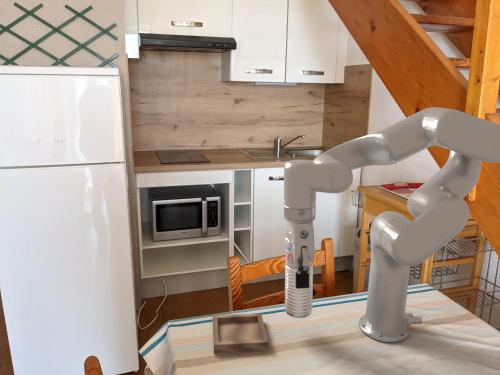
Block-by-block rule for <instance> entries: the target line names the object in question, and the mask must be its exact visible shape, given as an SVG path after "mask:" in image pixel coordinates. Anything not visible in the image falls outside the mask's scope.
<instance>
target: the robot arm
mask: <svg viewBox="0 0 500 375" xmlns="http://www.w3.org/2000/svg"><path fill="white" fill-rule="evenodd" d="M433 146H436V147H440V148H442V149H445V150H449V155H448V159H447V161H446V163H445V164H444V165H443V166H442V167H441V168H440V169H439V170H438V171H437V172H436V173H435V174H433V176H431V177H430V178H429V179H428V180H426V181H425V182H424V183H423V184H422V185H420V186H419V187H418V188H417V189H415V190H414V191H413V192H412V193H411V194H410V195H409V196H408V199H407V201H406V208H407V210H408V212H409V214H410V215H411V216H412V217H413V218H414V220H411V219H409V217H407V216H405V215H404V214H402V213H400V212H397V211H391V210H389V211H383V212H381V213H379V214H378V215H377V216H376V217H375V218H374V220H372V222H371V226H370V231H369V239H370V264H369V265H370V266H369V277H368V286H367V296H366V297H367V298H366V307H365V308H366V310H365V311H366V312H365V314H363V315H362V316H361V317H360V318H359V322H358V327H359V328H360V331H361V332H362V333H363V334H364V335H366V336H368V337H369V338H371V339H373V340H374V341H375V340H376V341H379V342H385V343H398V342H403V341H405V340H406V339H407V338H408V337H409V335H410V326H411V325H422V324H423V318H422V316H419V315H418V316H414V315H413V312H406V307H407V306H406V305H407V298H408V291H409V290H408V289H409V279H410V272H411V267H413V266H417V265H420V264H423V263H424V262H426V260H428V259H429V258H431V257H432V256H434V254H436V253H437V252H438V251H439V250H441V249H442V248H443V247H445V246H446V245H447V244H448V243H449V242H451V241H452V240H453V239H454V238H456V237H457V235H459V234H460V233H461V232H462V231H463V230H464V228H465V226H466V225H467V223H468V221H469V217H470V208H469V205H468V204H467V202H466V201H465V200H464V198H465V197H466V196H467V195H468V194H470V192H472V191H473V189H474V188H475V187H476V186H477V184H478V183H479V180H480V177H481V171H482V162H485V163H490V164H499V163H500V123H497V122H495V121H490V120H488V119H487V120H486V119H485V118H482V117H478V116H476V115H475V116H474V115H472V114H469V113H466V112H464V111H460V110H457V109H452V108H445V107H439V106H438V107H437V106H436V107H435V106H433V107H426V108H424V109H422V110H420V111H417V112H416V113H414V114H411V115H409V116H407V117H405V118H403V119H401V120H399V121H397V122H395V123H393V124H391V125H389V126H387V127H385V128H383V129H381V130H378V131H376V132H373V133H369V134H366V135H363V136H360V137H358V138H353V139H351V140H348V141H345V142H343V143H341V144H338V145H336V146H334V147H332V148H330V149H327V150H326V151H324V152H322V153H320V154H319V155H317V156H316V157H315V158H314V159H313V160H309V159H291V160H288V161H286V162H285V164H284V167H283V219H284V220H285V221H287V228H286V229H287V231H288V229H289V231H290V234H291V238H292V255H293V260H294V261H295V262H296V266H297V273H296V288H297V289H302V288H309V260H310V261H312V262H314V261H315V252H316V251H315V231H314V222H313V221H315V220H316V217H317V215H316V210H317V209H316V207H317V205H316V204H317V193H325V194H341V193H344V192H346V191H347V190H349V188H350V187H351V186H352V184H353V182H354V173H353V171H354V170H356V169H360V168H363V167H370V166H388V165H389V166H391V165H394V164H397V163H400V162H402V161H404V160H406V159H408V158H410V157H412V156H414V155H416V154H418V153H420V152H422V151H424V150H427V149H428V148H430V147H433ZM287 231H286V232H287ZM303 233H304V234H303ZM299 257H302V260H298V258H299ZM308 258H309V259H308ZM299 263H303V264H302V266H301V267H300V265H299Z"/></svg>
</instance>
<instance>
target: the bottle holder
mask: <svg viewBox="0 0 500 375" xmlns="http://www.w3.org/2000/svg"><path fill="white" fill-rule="evenodd" d="M265 327H266V326H265V323H264V318H263V314H262V313H261V312H259V313H243V314H242V313H236V314H219V315H218V314H217V315H215V314H214V315H212V337H213V338H212V339H213V342H212V343H213V354H225V353H226V354H228V353H229V354H231V353H245V352H246V353H249V352H263V351H264V352H266V351H269V342H270V341H269V339H268V335H267V331H266V328H265Z"/></svg>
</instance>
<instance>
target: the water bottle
mask: <svg viewBox="0 0 500 375" xmlns="http://www.w3.org/2000/svg"><path fill="white" fill-rule="evenodd" d="M303 234H304V233H303ZM284 237H285V238H284V240H285V264H284V271H285V272H284V274H285V275H284V309H285V313H286V315H288V316H289V317H291V318H295V319H304V318H307V317H309V316H310V315H312V311H313V280H314V265H313V264H314V263H313V262H314V261H313V262H312V261H310V260H309V288H302V289H297V288H296V273H297V266H296V262H295V261H294V260H293V255H292V238H291V234H290V231H289V229H288V231H286V232H285V234H284ZM308 259H309V258H308ZM298 260H302V257H299V258H298ZM302 264H303V263H299V265H300V267H301V266H302Z"/></svg>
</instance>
